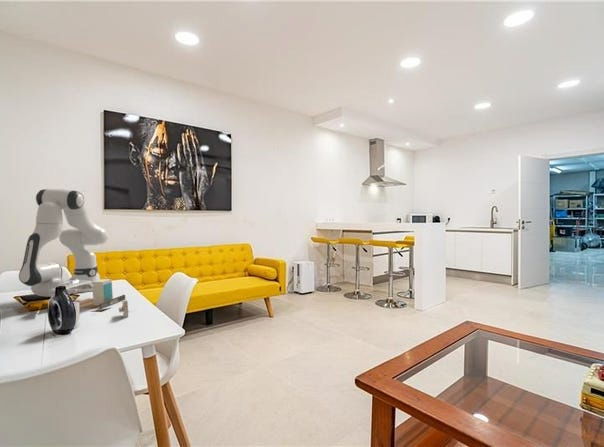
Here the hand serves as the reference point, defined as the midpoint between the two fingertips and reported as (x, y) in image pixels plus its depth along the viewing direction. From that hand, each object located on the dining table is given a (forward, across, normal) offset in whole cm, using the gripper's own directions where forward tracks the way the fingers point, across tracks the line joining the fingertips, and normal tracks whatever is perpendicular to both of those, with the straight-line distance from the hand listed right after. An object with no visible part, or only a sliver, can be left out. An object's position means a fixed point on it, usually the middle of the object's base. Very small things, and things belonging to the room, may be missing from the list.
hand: (85, 288), depth 163 cm
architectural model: (+33, -12, +10) cm, 36 cm away
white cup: (+19, -28, +9) cm, 35 cm away
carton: (+10, 0, +8) cm, 13 cm away
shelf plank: (+5, 0, +9) cm, 10 cm away
